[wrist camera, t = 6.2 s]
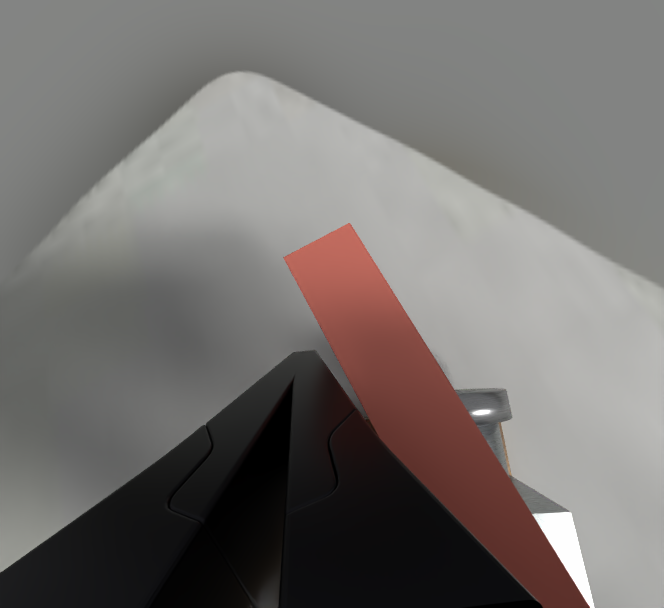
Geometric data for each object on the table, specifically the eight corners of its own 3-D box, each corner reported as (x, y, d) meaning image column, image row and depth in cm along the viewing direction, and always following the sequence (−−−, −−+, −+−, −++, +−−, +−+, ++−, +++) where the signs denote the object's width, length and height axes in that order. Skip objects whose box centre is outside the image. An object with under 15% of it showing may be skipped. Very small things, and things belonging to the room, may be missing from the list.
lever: (548, 825, 6) (669, 1103, 4) (279, 296, 9) (254, 268, 7) (678, 736, 6) (874, 952, 4) (370, 248, 9) (375, 204, 7)
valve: (550, 708, 12) (789, 1107, 5) (319, 712, 12) (279, 1084, 6) (485, 386, 15) (587, 390, 8) (303, 400, 15) (266, 414, 9)
